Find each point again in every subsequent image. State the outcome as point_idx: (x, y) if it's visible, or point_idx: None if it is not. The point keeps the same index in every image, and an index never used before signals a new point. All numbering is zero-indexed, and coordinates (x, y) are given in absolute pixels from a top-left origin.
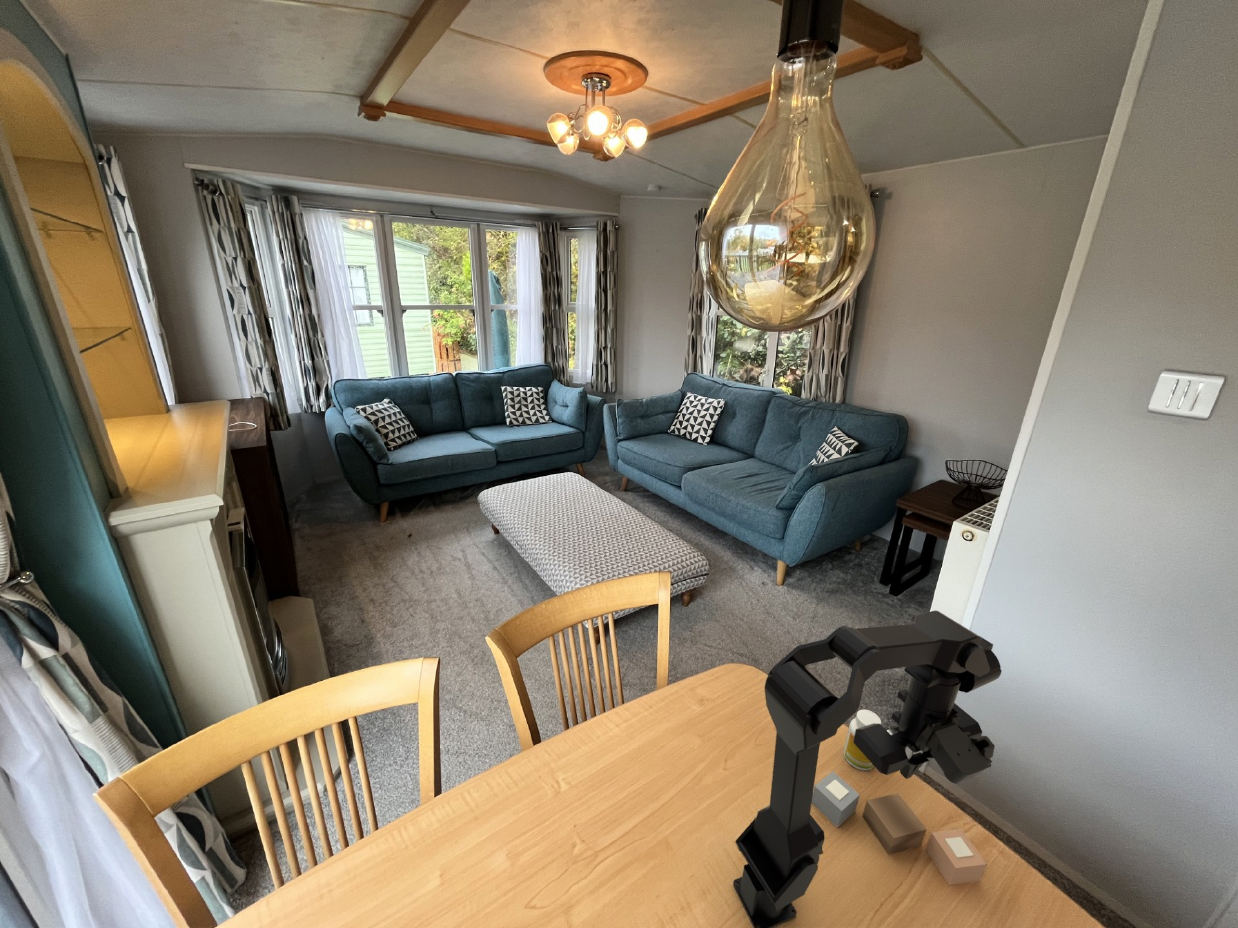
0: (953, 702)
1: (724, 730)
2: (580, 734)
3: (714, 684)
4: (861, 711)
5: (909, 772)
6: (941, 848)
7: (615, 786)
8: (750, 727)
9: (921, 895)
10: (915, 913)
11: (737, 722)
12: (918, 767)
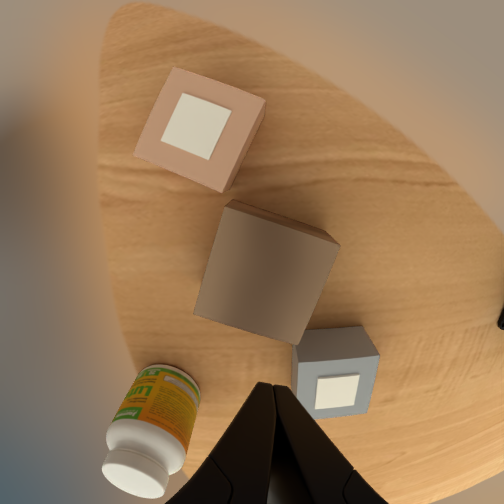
0: None
1: None
2: (459, 491)
3: None
4: (136, 493)
5: (316, 431)
6: (241, 151)
7: (492, 449)
8: None
9: (344, 139)
10: (388, 131)
11: None
12: (249, 442)
